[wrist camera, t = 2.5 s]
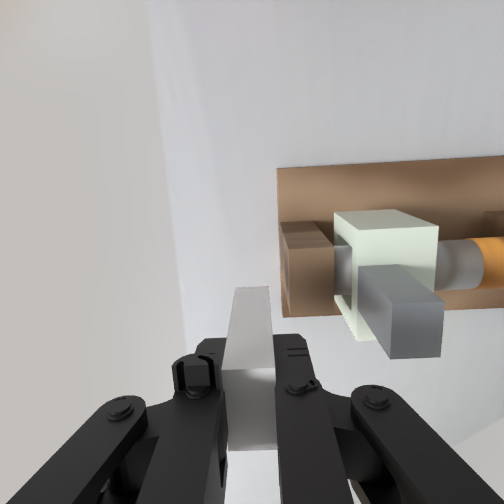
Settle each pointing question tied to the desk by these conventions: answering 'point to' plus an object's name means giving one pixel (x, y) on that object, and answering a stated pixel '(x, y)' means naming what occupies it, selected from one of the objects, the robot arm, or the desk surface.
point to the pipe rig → (402, 199)
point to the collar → (392, 281)
